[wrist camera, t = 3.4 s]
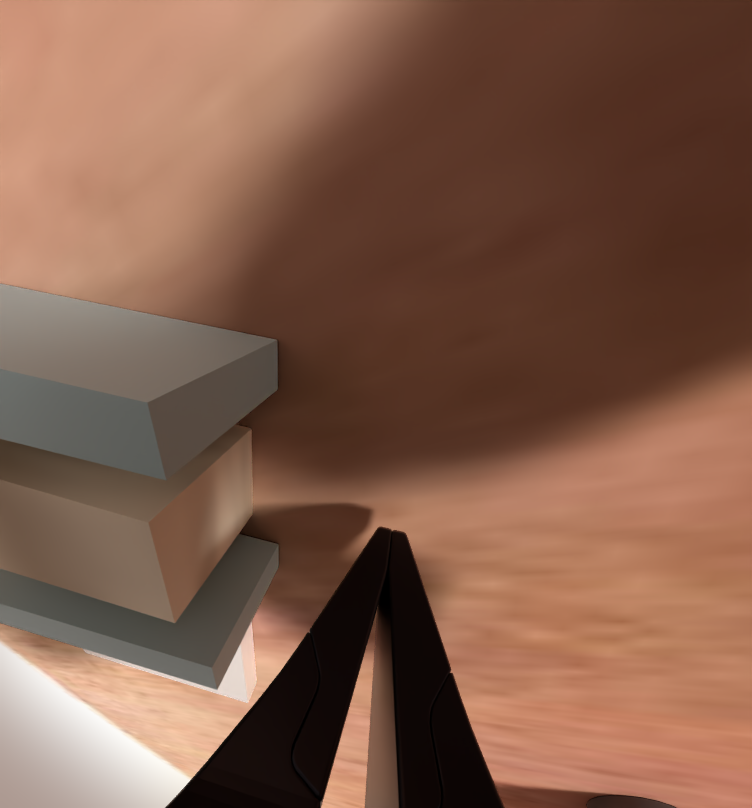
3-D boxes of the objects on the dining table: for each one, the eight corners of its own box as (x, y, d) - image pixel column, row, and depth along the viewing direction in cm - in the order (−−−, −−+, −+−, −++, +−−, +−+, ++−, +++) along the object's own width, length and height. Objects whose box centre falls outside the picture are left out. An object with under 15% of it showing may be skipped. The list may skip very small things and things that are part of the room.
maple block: (254, 426, 9) (148, 522, 6) (255, 510, 11) (174, 623, 8) (38, 369, 10) (-181, 426, 6) (73, 458, 12) (-82, 542, 8)
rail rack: (277, 339, 8) (147, 402, 4) (278, 566, 12) (217, 690, 9) (-40, 275, 8) (-381, 280, 5) (72, 511, 13) (-63, 603, 9)
